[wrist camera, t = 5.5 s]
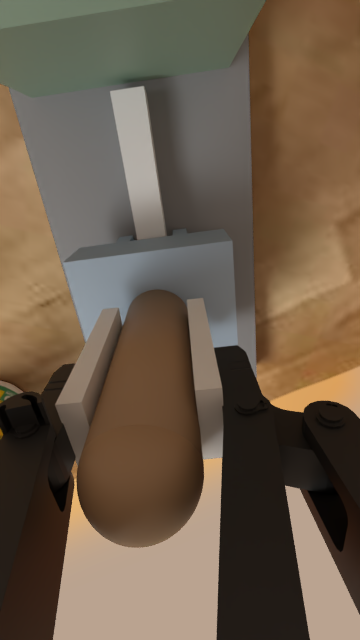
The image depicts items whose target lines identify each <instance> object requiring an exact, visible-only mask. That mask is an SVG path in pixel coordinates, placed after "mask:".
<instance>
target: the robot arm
mask: <svg viewBox="0 0 360 640" xmlns="http://www.w3.org/2000/svg"><path fill="white" fill-rule="evenodd" d="M187 308H188V319H189V330H190V341H191V353H192V364H193V375H194V386H195V396H196V404H197V412H198V421H199V426H200V434H201V444H202V454H203V459H213V458H222V488H221V518H220V521H221V522H220V551H219V582H218V584H219V585H218V614H217V640H310V638H309V632H308V626H307V620H306V614H305V607H304V601H303V595H302V589H301V583H300V577H299V570H298V564H297V558H296V551H295V545H294V540H293V533H292V527H291V521H290V514H289V508H288V502H287V496H286V490H285V485H286V486H290V487H295V488H300V490H301V492H302V494H303V496H304V499H305V501H306V503H307V505H308V507H309V509H310V511H311V513H312V515H313V517H314V520H315V521H316V524H317V526H318V528H319V530H320V532H321V534H322V536H323V538H324V540H325V543H326V545H327V547H328V549H329V551H330V553H331V555H332V557H333V559H334V561H335V564H336V566H337V568H338V570H339V572H340V574H341V576H342V578H343V580H344V583H345V585H346V586H347V589H348V591H349V593H350V595H351V597H352V599H353V601H354V603H355V606H356V608H357V610H358V612H359V614H360V419H359V418H358V417H357V415H356V414H355V413H354V412H353V411H351V410H350V409H349V408H348V407H346V406H343V405H341V404H339V403H336V402H331V401H316V402H313V403H310V404H309V405H308V406H307V407H305V409H304V413H301V412H294V411H287V410H283V409H280V408H277V407H275V406H273V405H272V404H271V403H270V401H269V400H268V399H267V398H265V397H264V396H263V395H262V393H261V390H260V388H259V385H258V382H257V380H256V377H255V374H254V372H253V369H252V367H251V364H250V362H249V359H248V356H247V354H246V351H244V350H243V349H242V348H241V347H239V346H238V345H234V346H225V347H215V348H214V347H213V342H212V337H211V333H210V328H209V323H208V319H207V314H206V309H205V305H204V300H203V298H197V299H189V300H187ZM122 327H123V325H122V320H121V316H120V311H119V307H118V308H109V309H103V310H102V312H101V314H100V316H99V318H98V320H97V322H96V324H95V326H94V328H93V330H92V332H91V334H90V336H89V338H88V340H87V342H86V344H85V346H84V348H83V350H82V352H81V354H80V356H79V358H78V360H77V362H76V363H75V364H66V365H63V366H61V367H60V368H59V369H58V370H57V371H56V372H54V373H53V375H52V377H51V379H50V380H49V384H47V386H46V387H45V389H44V391H43V392H42V394H41V395H40V394H39V393H35V392H23V393H20V394H17V395H14V396H12V397H10V398H8V399H6V400H4V401H3V402H2V403H0V429H1V431H2V433H3V436H2V438H1V439H0V640H53V634H54V627H55V620H56V613H57V605H58V598H59V591H60V584H61V577H62V569H63V563H64V555H65V548H66V541H67V534H68V527H69V519H70V512H71V505H72V498H73V491H74V478H73V475H72V472H71V470H72V467H73V464H74V461H75V460H76V463H77V465H78V464H79V460H80V457H81V454H82V450H83V447H84V444H85V441H86V438H87V435H88V432H89V429H90V426H91V423H92V420H93V416H94V413H95V410H96V407H97V404H98V401H99V398H100V395H101V392H102V389H103V386H104V383H105V379H106V376H107V373H108V370H109V367H110V364H111V361H112V358H113V355H114V352H115V349H116V345H117V342H118V339H119V336H120V333H121V330H122Z"/></svg>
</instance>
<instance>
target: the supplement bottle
mask: <svg viewBox="0 0 360 640" xmlns="http://www.w3.org/2000/svg"><path fill="white" fill-rule="evenodd" d="M20 393H23V391H22V390H20V389H19V388H17V387H16V386H14V385H13V384H10V383H8V382H4V381H0V403H2V402H3V401H4V400H6V399H8V398H10V397H12V396H14V395H17V394H20ZM2 436H3V433H2V431H1V429H0V439H1V438H2Z"/></svg>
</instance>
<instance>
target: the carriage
mask: <svg viewBox="0 0 360 640" xmlns="http://www.w3.org/2000/svg"><path fill="white" fill-rule="evenodd" d="M63 265H64V269H65V272H66V275H67V279H68V282H69V285H70V289H71V292H72V296H73V299H74V302H75V306H76V309H77V312H78V316H79V319H80V322H81V326H82V329H83V332H84V336H85V339H86V342H87V340H88V338H89V336H90V334H91V332H92V330H93V328H94V326H95V324H96V322H97V320H98V318H99V316H100V314H101V312H102V310H103V309H109V308H118V307H119V311H120V316H121V320H122V325H123V327H122V330H121V333H120V336H119V339H118V342H117V345H116V349H115V352H114V355H113V358H112V361H111V364H110V367H109V370H108V373H107V376H106V379H105V383H104V386H103V389H102V392H101V395H100V398H99V401H98V404H97V407H96V410H95V413H94V416H93V420H92V423H91V426H90V429H89V432H88V435H87V438H86V441H85V444H84V447H83V450H82V454H81V457H80V460H79V464H78V470H77V492H78V497H79V501H80V505H81V508H82V510H83V512H84V514H85V516H86V518H87V519H88V521H89V522H90V524H91V525H92V526H93V528H95V530H96V531H97V532H99V533H100V534H101V535H102V536H103V537H105V538H106V539H108V540H110V541H112V542H114V543H116V544H119V545H122V546H127V547H148V546H152V545H155V544H158V543H160V542H163V541H165V540H167V539H168V538H170V537H171V536H173V535H174V534H175V533H177V532H178V531H179V530H180V529H181V528H182V527H183V526H184V525H185V524H186V523H187V521H188V520H189V519H190V517H191V516H192V514H193V512H194V511H195V509H196V507H197V504H198V502H199V499H200V496H201V492H202V488H203V480H204V467H203V455H202V444H201V434H200V426H199V421H198V412H197V404H196V396H195V386H194V375H193V364H192V353H191V341H190V330H189V319H188V308H187V300H189V299H197V298H203V300H204V305H205V309H206V314H207V319H208V323H209V328H210V333H211V337H212V342H213V347H214V348H215V347H225V346H234V345H238V337H237V318H236V299H235V280H234V261H233V243H232V239H231V238H230V237H229V235H228V234H227V233H226V231H225V230H224V229H218V230H210V231H202V232H195V233H187V231H186V228H184V229H177V230H173V235H172V236H164V237H157V238H149V239H142V240H134V238H133V235H132V236H124V237H119V239H118V240H117V241H116V243H111V244H104V245H96V246H89V247H81V248H79V249H78V250H77V251H75V252H74V253H73V254H72V255H71V256H70V257H69V258H67V259H66V260H65V261H64V262H63Z"/></svg>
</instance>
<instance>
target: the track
mask: <svg viewBox="0 0 360 640" xmlns="http://www.w3.org/2000/svg"><path fill="white" fill-rule="evenodd" d="M265 1H266V0H0V83H1V84H3V85H5V86H7V87H9V91H10V94H11V97H12V101H13V104H14V107H15V111H16V114H17V117H18V121H19V124H20V127H21V131H22V134H23V137H24V141H25V144H26V147H27V151H28V154H29V157H30V161H31V164H32V167H33V171H34V174H35V177H36V181H37V184H38V187H39V191H40V194H41V197H42V201H43V204H44V207H45V211H46V214H47V217H48V221H49V224H50V227H51V231H52V234H53V237H54V241H55V244H56V247H57V251H58V254H59V257H60V261H61V264H62V267H63V271H64V274H65V277H66V281H67V284H68V287H69V290H70V294H71V297H72V300H73V304H74V307H75V310H76V314H77V317H78V320H79V324H80V327H81V330H82V334H83V337H84V340H85V344H86V339H85V336H84V332H83V329H82V326H81V322H80V319H79V316H78V312H77V309H76V306H75V302H74V299H73V296H72V292H71V289H70V285H69V282H68V279H67V275H66V272H65V269H64V265H63V262H64V261H65V260H66V259H67V258H69V257H70V256H71V255H72V254H73V253H74V252H75V251H77V250H78V249H79V248H81V247H89V246H96V245H104V244H111V243H116V241H117V240H118V239H119V237H124V236H132V235H133V238H134V240H142V239H149V238H157V237H164V236H172V235H173V230H177V229H184V228H186V231H187V233H195V232H202V231H210V230H218V229H224V230H225V231H226V233H227V234H228V235H229V237H230V238H231V239H232V243H233V261H234V280H235V299H236V318H237V337H238V346H239V347H241V348H242V349H243V350H244V351H246V354H247V356H248V359H249V362H250V364H251V367H252V369H253V372H254V374H255V377H257V375H256V333H255V290H254V248H253V206H252V164H251V122H250V79H249V37H248V32H249V30H250V28H251V27H252V25H253V23H254V21H255V19H256V18H257V16H258V14H259V12H260V10H261V9H262V7H263V5H264V3H265Z"/></svg>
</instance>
